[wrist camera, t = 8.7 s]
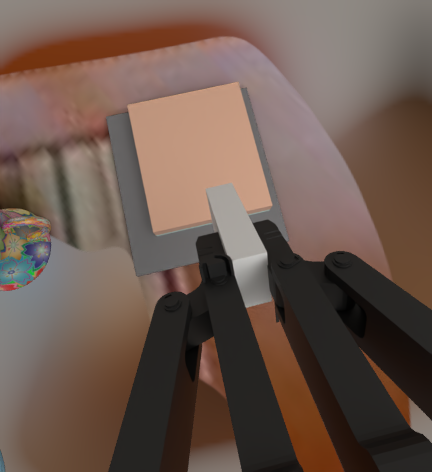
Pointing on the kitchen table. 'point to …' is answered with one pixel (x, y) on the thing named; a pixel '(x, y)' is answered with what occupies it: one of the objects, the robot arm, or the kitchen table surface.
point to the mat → (137, 213)
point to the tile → (196, 155)
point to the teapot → (2, 463)
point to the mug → (22, 247)
